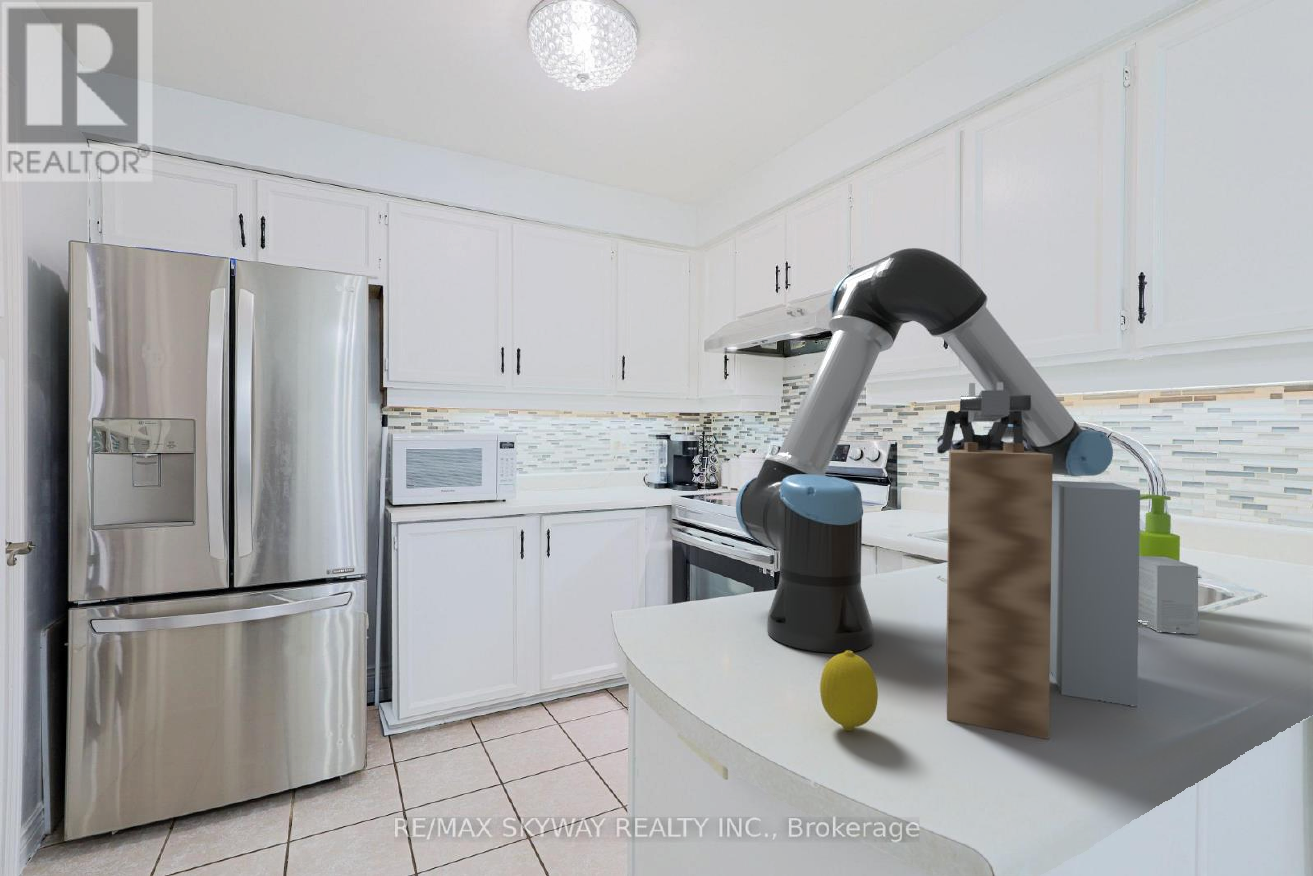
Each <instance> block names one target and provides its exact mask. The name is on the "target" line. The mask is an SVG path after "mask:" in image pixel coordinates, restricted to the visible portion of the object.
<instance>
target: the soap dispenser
mask: <svg viewBox="0 0 1313 876" xmlns="http://www.w3.org/2000/svg"><path fill="white" fill-rule="evenodd" d="M1171 498H1172V497H1171V496H1167V495H1159V494H1147V493H1145V494H1144V493H1143V494H1140V501H1141V500H1150V499H1151V511H1149V512H1146V513H1145V526H1144V527H1145V528H1144V529H1145V531H1144V530H1143V531H1141V530H1140V538H1139V556H1152V557H1167V558H1170V559H1174V560H1177V561H1180V562H1181V560H1180V557H1181V555H1180V550H1181V548H1180V547H1181V546H1180V545H1181V536H1180V535H1178V534H1174V533H1171V526H1172V525H1171V519H1172V518H1171V517H1172V516H1171V515H1170V514H1168V513H1167V512H1165V501H1171Z"/></svg>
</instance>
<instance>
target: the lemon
mask: <svg viewBox="0 0 1313 876" xmlns="http://www.w3.org/2000/svg"><path fill="white" fill-rule="evenodd" d="M819 684H820V685H819V689H820V690H819V692H820V698H821V703H822V706H823V709H824V711H825V712H826V714H827V715H828V717H830V719H832V720H833V721H834V722H835V723H836V724H839V725H841V727H843V729H844V730H846V731H849V732H850V731H852V730H853V729H855V728H857V727H862V726H863V725H865V724H867V723H868V722H869V721H870V720H871V719H872V717H873V716H874V714H875V712H876V709H877V706H878V700H879V699H878V697H879V693H878V691H879V690H878V682H877V679H876V675H875V672H874V670H873V669H872V667H871V665H870V664H869V663H868V662H867V661H866V660H865V659H864V658H862V657H861V656H860V655H857V654H855V653H854V651H849V650H847V651H845V652H840V653H837V654H836V655H834V656H832V657H831V658H830V659H829V660H828V661H827V662H826V664H825V665H824V667H823V669H822V673H821V677H820V683H819Z"/></svg>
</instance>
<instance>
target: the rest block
mask: <svg viewBox="0 0 1313 876" xmlns="http://www.w3.org/2000/svg"><path fill="white" fill-rule="evenodd" d="M1140 495H1141V489H1137V488H1135V487H1134V488H1133V487H1129V486H1126V485H1122V484H1117V483H1114V482H1098V481H1097V482H1096V481H1070V480H1069V481H1068V480H1064V481H1063V480H1052V543H1051V613H1050V670H1051V671H1050V673H1051V672H1052V673H1051V675H1052V674H1053V675H1052V677H1053V679H1054V678H1055V679H1054V681H1056V682H1055V683H1057V684H1056V685H1058V686H1057V688H1058V687H1059V688H1058V690H1059V693H1060V694H1061V695H1062V696H1069V697H1074V698H1080V699H1087V700H1094V701H1098V700H1101V701H1100V702H1104V701H1106V702H1105V703H1110V702H1112V704H1116V703H1117V705H1123V704H1124V706H1128V705H1133V706H1132V707H1134V706H1137V707H1138V667H1139V666H1138V664H1139V663H1138V662H1139V661H1138V659H1139V658H1138V657H1139V652H1138V651H1139V623H1138V605H1139V538H1140V532H1141V528H1140V526H1141V500H1140ZM1102 700H1103V701H1102ZM1113 702H1114V703H1113ZM1118 703H1119V704H1118Z"/></svg>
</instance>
